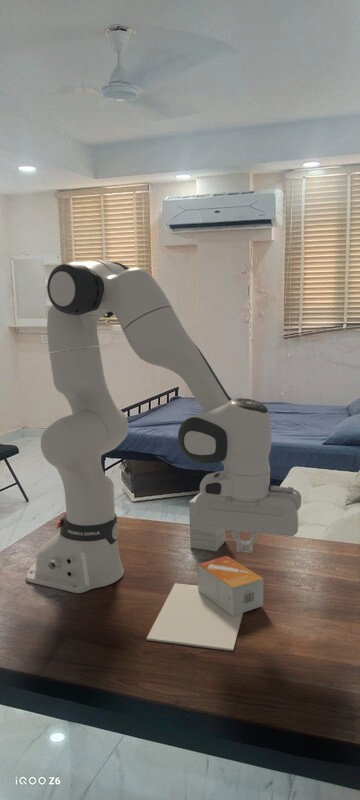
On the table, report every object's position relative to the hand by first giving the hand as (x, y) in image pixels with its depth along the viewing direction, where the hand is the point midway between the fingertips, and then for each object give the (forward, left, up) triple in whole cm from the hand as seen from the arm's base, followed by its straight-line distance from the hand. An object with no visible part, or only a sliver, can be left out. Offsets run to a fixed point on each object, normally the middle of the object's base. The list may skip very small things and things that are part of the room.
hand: (244, 551), depth 115 cm
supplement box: (-14, +34, -15) cm, 40 cm away
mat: (-9, 0, -15) cm, 17 cm away
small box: (+1, +2, -11) cm, 11 cm away
